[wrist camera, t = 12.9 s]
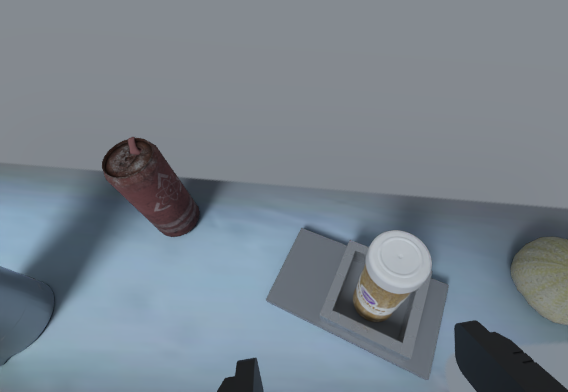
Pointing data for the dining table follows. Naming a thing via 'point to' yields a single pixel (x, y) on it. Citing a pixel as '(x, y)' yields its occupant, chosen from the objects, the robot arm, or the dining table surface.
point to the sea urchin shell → (544, 277)
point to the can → (151, 186)
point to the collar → (363, 333)
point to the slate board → (350, 299)
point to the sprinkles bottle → (390, 274)
